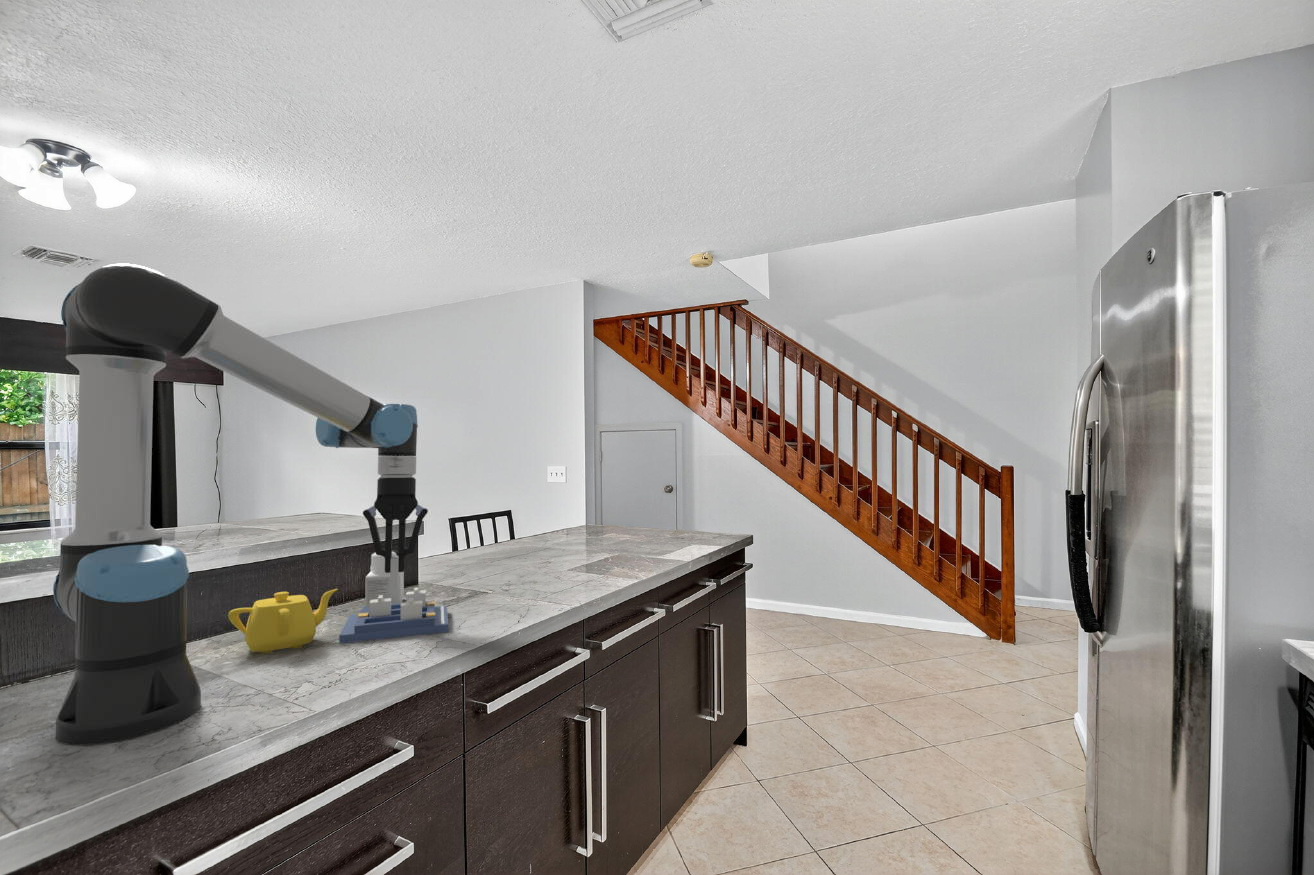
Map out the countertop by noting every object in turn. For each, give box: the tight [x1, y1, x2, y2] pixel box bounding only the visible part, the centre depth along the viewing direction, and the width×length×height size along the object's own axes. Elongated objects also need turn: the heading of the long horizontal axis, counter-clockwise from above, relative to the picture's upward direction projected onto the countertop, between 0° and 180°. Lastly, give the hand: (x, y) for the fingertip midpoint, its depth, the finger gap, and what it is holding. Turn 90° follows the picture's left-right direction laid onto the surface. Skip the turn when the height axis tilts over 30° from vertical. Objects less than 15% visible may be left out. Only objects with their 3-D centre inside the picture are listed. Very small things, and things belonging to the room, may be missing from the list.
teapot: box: [227, 588, 339, 655], centre depth 115 cm, size 14×13×10 cm
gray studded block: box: [369, 595, 391, 617], centre depth 126 cm, size 4×3×5 cm
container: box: [364, 549, 405, 607], centre depth 146 cm, size 8×8×13 cm
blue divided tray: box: [338, 600, 449, 644], centre depth 127 cm, size 20×16×3 cm
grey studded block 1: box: [405, 587, 427, 606], centre depth 133 cm, size 4×3×5 cm
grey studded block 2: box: [401, 598, 422, 620], centre depth 123 cm, size 4×3×5 cm
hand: (394, 587), depth 127 cm, fingers closed
